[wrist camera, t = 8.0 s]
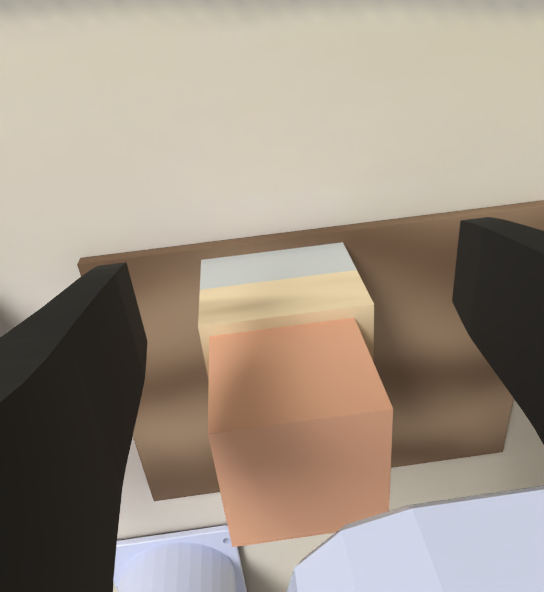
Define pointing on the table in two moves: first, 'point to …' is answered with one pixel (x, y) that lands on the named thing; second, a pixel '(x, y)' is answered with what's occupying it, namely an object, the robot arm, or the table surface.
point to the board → (386, 354)
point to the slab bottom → (275, 265)
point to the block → (298, 430)
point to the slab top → (285, 306)
